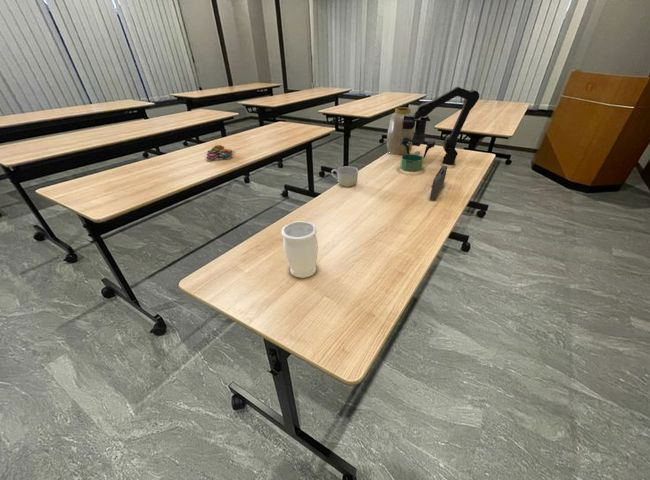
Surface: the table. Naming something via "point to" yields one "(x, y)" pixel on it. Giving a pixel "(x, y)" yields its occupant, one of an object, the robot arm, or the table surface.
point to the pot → (412, 162)
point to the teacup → (346, 175)
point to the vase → (398, 132)
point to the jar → (300, 247)
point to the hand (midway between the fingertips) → (416, 157)
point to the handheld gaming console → (438, 182)
